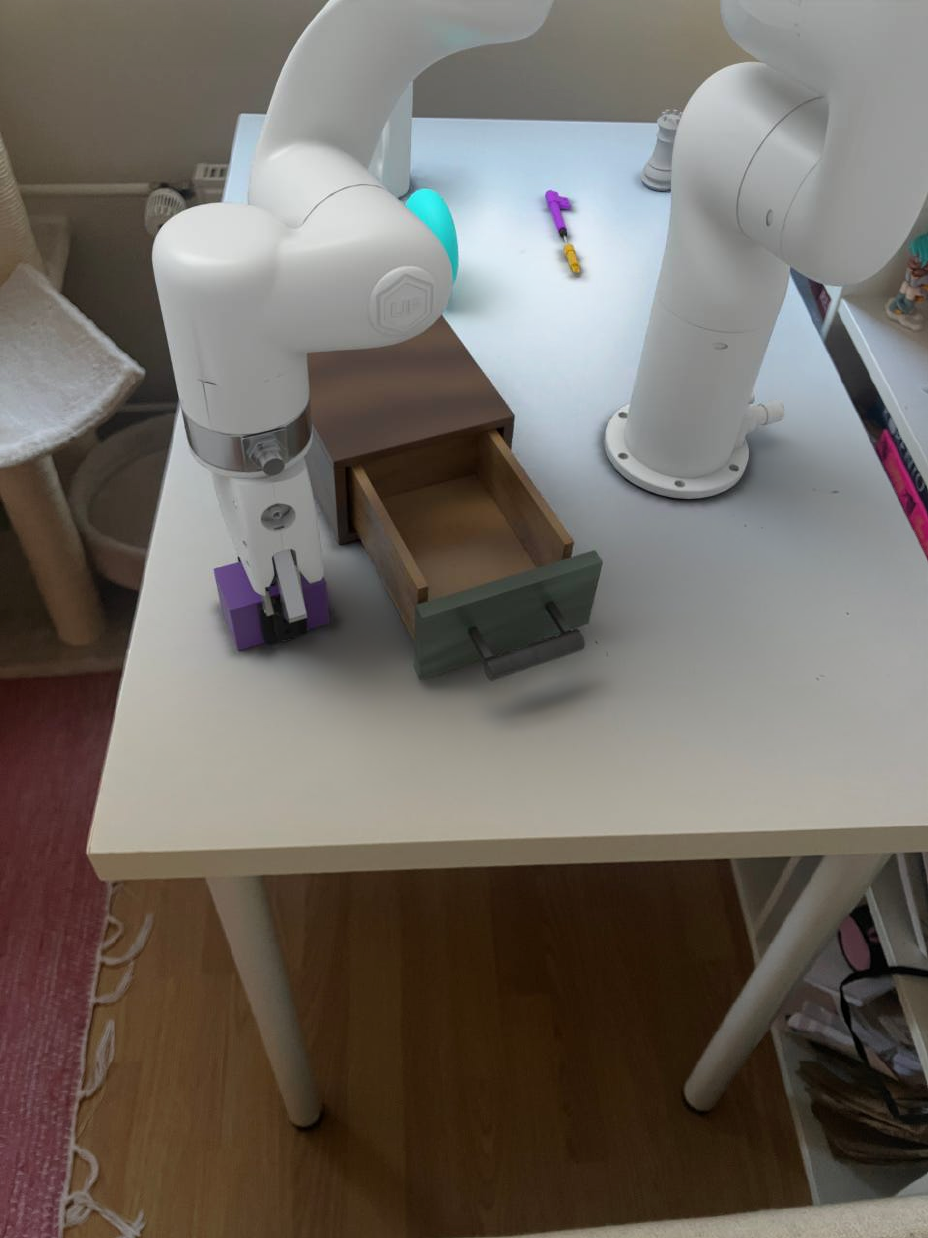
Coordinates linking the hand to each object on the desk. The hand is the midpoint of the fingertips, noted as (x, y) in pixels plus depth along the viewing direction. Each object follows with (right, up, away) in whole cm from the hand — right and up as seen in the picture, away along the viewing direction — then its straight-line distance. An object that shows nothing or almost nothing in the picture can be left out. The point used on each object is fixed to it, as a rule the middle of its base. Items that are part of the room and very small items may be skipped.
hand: (275, 611), depth 74 cm
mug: (+5, +48, +40) cm, 63 cm away
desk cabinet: (+7, +14, +13) cm, 20 cm away
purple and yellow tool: (+26, +42, +37) cm, 61 cm away
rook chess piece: (+37, +51, +45) cm, 78 cm away
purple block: (0, 0, 0) cm, 1 cm away
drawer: (+14, +2, +2) cm, 15 cm away
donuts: (+7, +32, +28) cm, 43 cm away
